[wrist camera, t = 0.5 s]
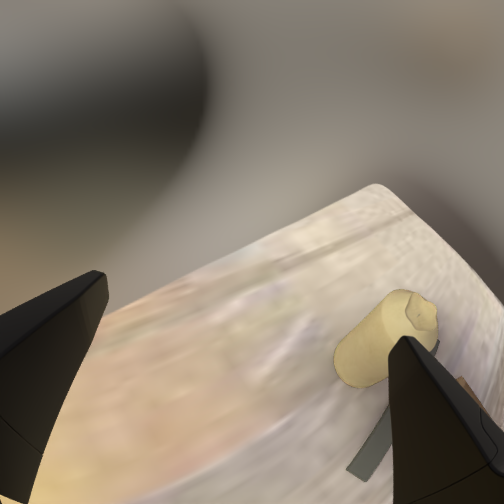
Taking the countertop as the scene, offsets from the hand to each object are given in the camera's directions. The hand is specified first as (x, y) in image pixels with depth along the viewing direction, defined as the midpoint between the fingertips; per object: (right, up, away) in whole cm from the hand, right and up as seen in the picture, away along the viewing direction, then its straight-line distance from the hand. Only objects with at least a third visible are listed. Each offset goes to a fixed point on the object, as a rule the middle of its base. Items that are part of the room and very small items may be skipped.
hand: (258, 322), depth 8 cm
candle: (+10, -9, +17) cm, 21 cm away
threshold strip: (+14, -12, +14) cm, 24 cm away
